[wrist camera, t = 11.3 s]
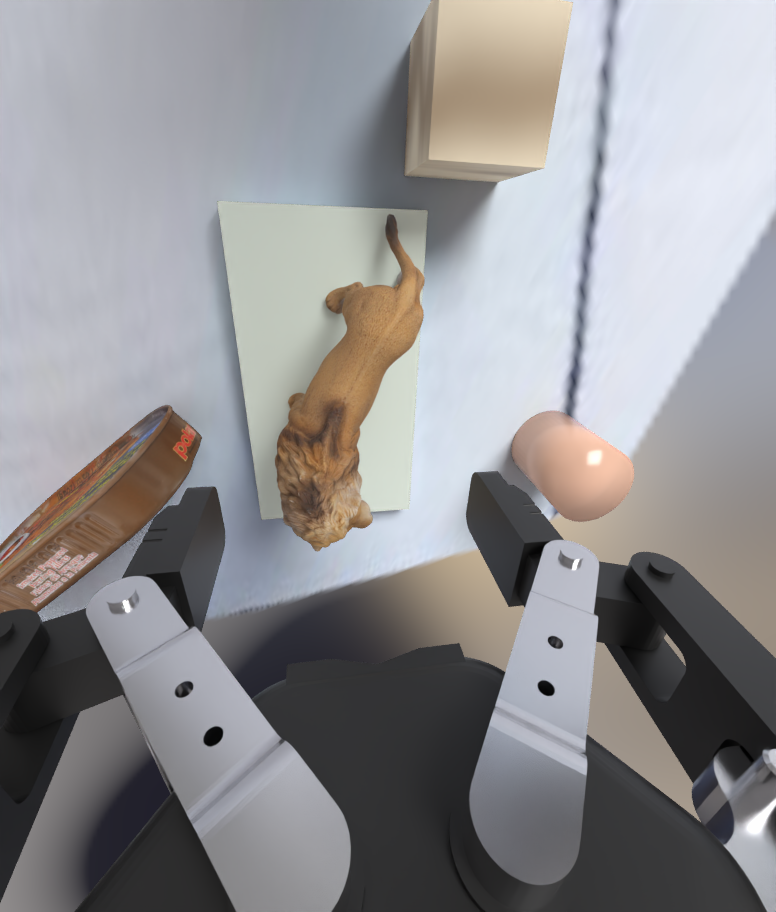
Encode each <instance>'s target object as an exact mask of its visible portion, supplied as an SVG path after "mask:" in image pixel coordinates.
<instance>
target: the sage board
mask: <svg viewBox="0 0 776 912" xmlns="http://www.w3.org/2000/svg"><path fill="white" fill-rule="evenodd" d="M217 205H218V212H219V219H220V226H221V234H222V241H223V248H224V255H225V262H226V269H227V277H228V284H229V291H230V298H231V305H232V313H233V320H234V327H235V334H236V341H237V349H238V356H239V363H240V370H241V377H242V384H243V392H244V399H245V406H246V413H247V420H248V428H249V435H250V442H251V449H252V456H253V464H254V471H255V478H256V485H257V492H258V500H259V507H260V514H261V520H264V519H278V518H283V511H282V508H281V497H280V490H279V488H278V483H277V469H276V466H275V457H276V455H277V441H278V437H279V435H280V433H281V431H282V430H283V429H284V428H285V426H286V425H287V424H288V422H289V420H288V414H289V411H290V410H291V409H290V407H289V404H288V400H289V398H290V397H291V396H292V395H293V394H296V393H304V394H306V391H307V388H308V387H309V385H310V383H311V381H312V379H313V378H314V376H315V374H316V373H317V371H318V369H319V367H320V365H321V363H322V362H323V360H324V359H325V357H326V356H327V355H328V354H329V352H330V351H331V350H332V349H333V348H334V347H335V346H336V345H337V344H338V343H339V342H340V341H341V339H342V338H343V337H344V335H345V334H346V331H347V325H346V323H345V319H344V316H343V314H342V313H341V314H336V313H334V312H332V311H330V310H329V309H328V308H327V306H326V301H325V299H326V297H327V295H328V294H329V293H330V292H331V291H333V290H334V289H337V288H340V287H346V286H348V285H351V284H353V283H355V282H361V283H362V284H363V287H368V286H374V285H387V286H390V287H392V288H394V287H395V286H396V285H397V278H398V275H399V273H400V272H401V268H400V266H399V263H398V261H397V259H396V257H395V255H394V253H393V252H392V250H391V248H390V246H389V243H388V241H387V238H386V233H385V226H386V223H387V216H388V215H389V214H392V215H394V217H395V218H396V221H397V229H398V239H399V241H400V243H401V245H402V247H403V249H404V251H405V252H406V253H407V255H408V256H409V257H410V258H411V260H412V262H413V264H414V266H415V267H417V268H418V269H419V270H420V272H421V273H422V274H423V276H424V264H425V248H426V232H427V216H428V210H408V209H385V208H362V207H340V206H317V205H294V204H271V203H248V202H226V201H217ZM422 296H423V288H422V290H421V293H420V304H421V306H422ZM420 328H421V327H420ZM419 344H420V330H419V332H418V335H417V337H416V340H415V342H414V344H413V346H412V347H411V348H410V349H409V350H408V351H407V352H406V353H404V354H403V355H402V356H401V357H400V358H399V359H397V360H396V361H395V362H394V363H393V364H392V365H391V366H390V367H389V368H388V369H387V371H386V372H385V374H384V376H383V379H382V382H381V385H380V388H379V390H378V393H377V396H376V398H375V401H374V403H373V405H372V407H371V410H370V411H369V413H368V415H367V417H366V418H365V420H364V421H363V423H362V424H361V426H360V437H359V440H358V443H357V448H358V451H359V459H360V462H359V465H358V472H359V474H360V475H361V477H362V486H361V489H360V495H361V498H362V499H361V500H364V501H365V502H366V503H367V504H368V505H369V507H370V511H371V512H375V511H389V510H403V509H409V504H410V488H411V472H412V456H413V440H414V424H415V408H416V392H417V376H418V360H419Z"/></svg>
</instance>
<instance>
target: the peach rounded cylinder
mask: <svg viewBox="0 0 776 912" xmlns="http://www.w3.org/2000/svg"><path fill="white" fill-rule="evenodd" d="M511 453H512V458H513V461H514V462H515V464H516V465H517V466H518V468H519V469H520V470H521V471H522V472H523V473H524V474H525V475H526V476H527V478H528V479H529V480H530V481H531V482H532V483H533V484H534V485H535V486H536V488H537V489H538V490H539V491H540V492H541V493H542V494H543V495H544V496H545V498H546V499H547V500H548V501H549V502H550V503H551V504H552V505H553V506H554V507H555V509H556V510H557V511H558V512H559V513H560V514H561V515H562V516H563V517H565V518H566V519H569V520H572V521H578V522H583V521H590V520H594V519H597V518H599V517H602V516H604V515H606V514H607V513H609V512H610V511H612V510H613V509H614V508H616V507H617V506H618V505H619V504H620V503H621V501H623V499H624V498H625V497H626V495H627V494H628V492H629V490H630V488H631V486H632V483H633V479H634V468H633V464H632V462H631V460H630V459H629V458H628V457H627V456H626V455H625V454H624V453H622V452H621V451H619V450H618V449H616V448H615V447H613V446H612V445H611V444H609V443H608V442H606V441H605V440H603V439H602V438H600V437H599V436H598V435H596V434H595V433H593V432H592V431H590V430H589V429H587V428H586V427H585V426H583V425H582V424H580V423H579V422H577V421H576V420H574V419H573V418H572V417H570V416H569V415H567V414H565V413H563V412H560V411H546V412H542V413H539V414H537V415H535V416H533V417H532V418H530V419H529V420H527V421H526V422H525V423H524V424H523V425H522V426H521V427H520V428H519V430H518V431H517V433H516V435H515V437H514V439H513V442H512V448H511Z"/></svg>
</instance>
